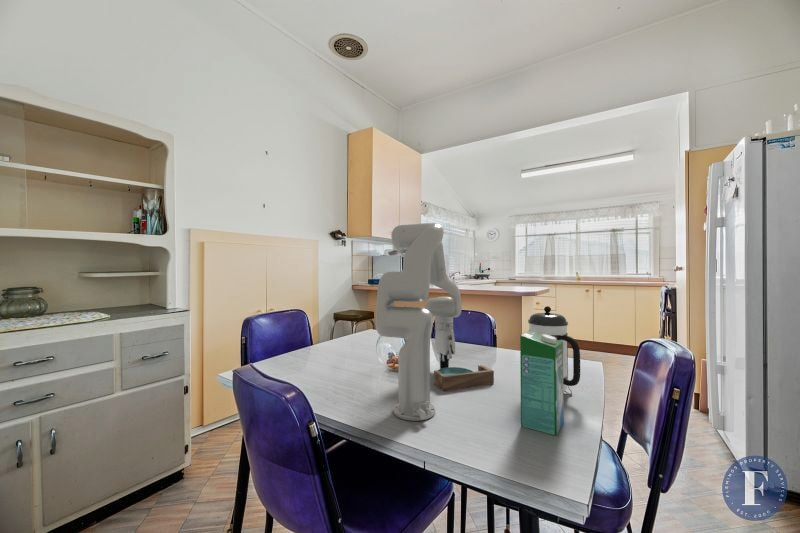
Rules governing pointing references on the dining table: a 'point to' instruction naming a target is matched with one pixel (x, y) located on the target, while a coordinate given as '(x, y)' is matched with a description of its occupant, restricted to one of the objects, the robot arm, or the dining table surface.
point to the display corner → (464, 379)
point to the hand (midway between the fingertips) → (444, 369)
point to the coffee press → (558, 329)
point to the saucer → (453, 370)
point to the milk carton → (541, 382)
